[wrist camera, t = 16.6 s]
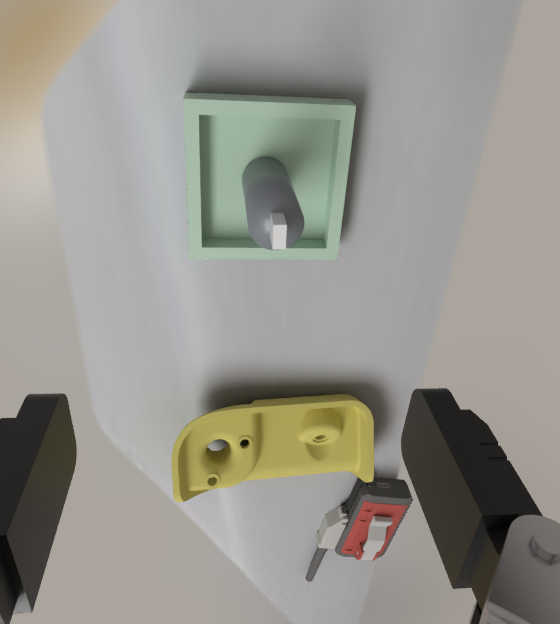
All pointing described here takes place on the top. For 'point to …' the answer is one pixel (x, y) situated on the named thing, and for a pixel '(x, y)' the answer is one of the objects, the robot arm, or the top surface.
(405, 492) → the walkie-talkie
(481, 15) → the top surface
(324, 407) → the plastic component
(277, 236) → the grey bottle white cap
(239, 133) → the tray
